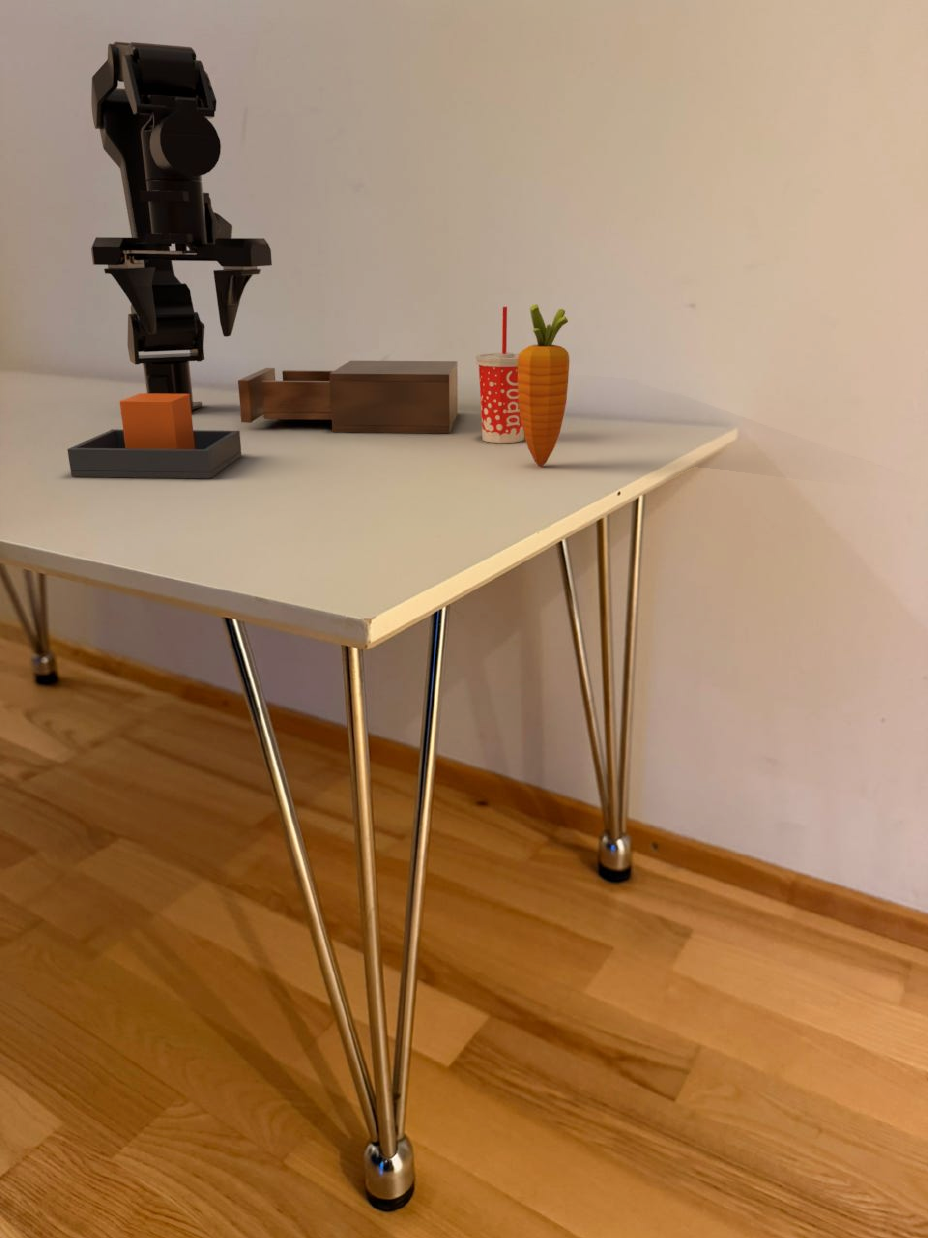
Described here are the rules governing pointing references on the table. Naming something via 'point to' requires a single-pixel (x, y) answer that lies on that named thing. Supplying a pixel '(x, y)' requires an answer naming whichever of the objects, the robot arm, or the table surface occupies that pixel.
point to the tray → (154, 457)
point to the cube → (157, 421)
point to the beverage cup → (500, 394)
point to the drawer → (285, 395)
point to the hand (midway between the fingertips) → (189, 334)
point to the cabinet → (394, 396)
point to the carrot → (543, 387)
